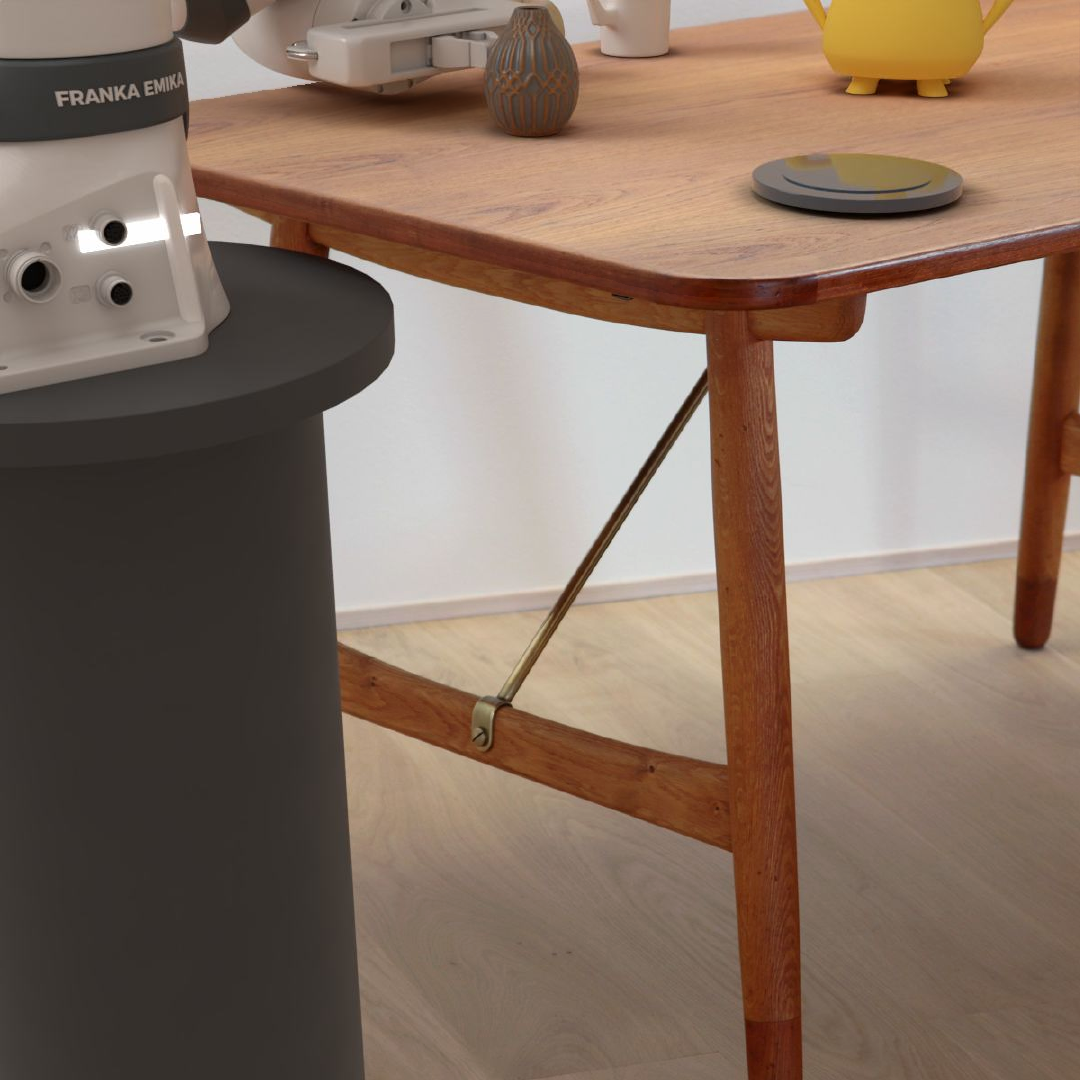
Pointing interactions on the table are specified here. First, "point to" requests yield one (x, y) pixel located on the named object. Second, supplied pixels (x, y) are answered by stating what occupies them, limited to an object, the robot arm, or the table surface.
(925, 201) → the plate
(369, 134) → the table surface
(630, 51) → the mug
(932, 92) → the teapot
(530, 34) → the vase
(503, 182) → the table surface
